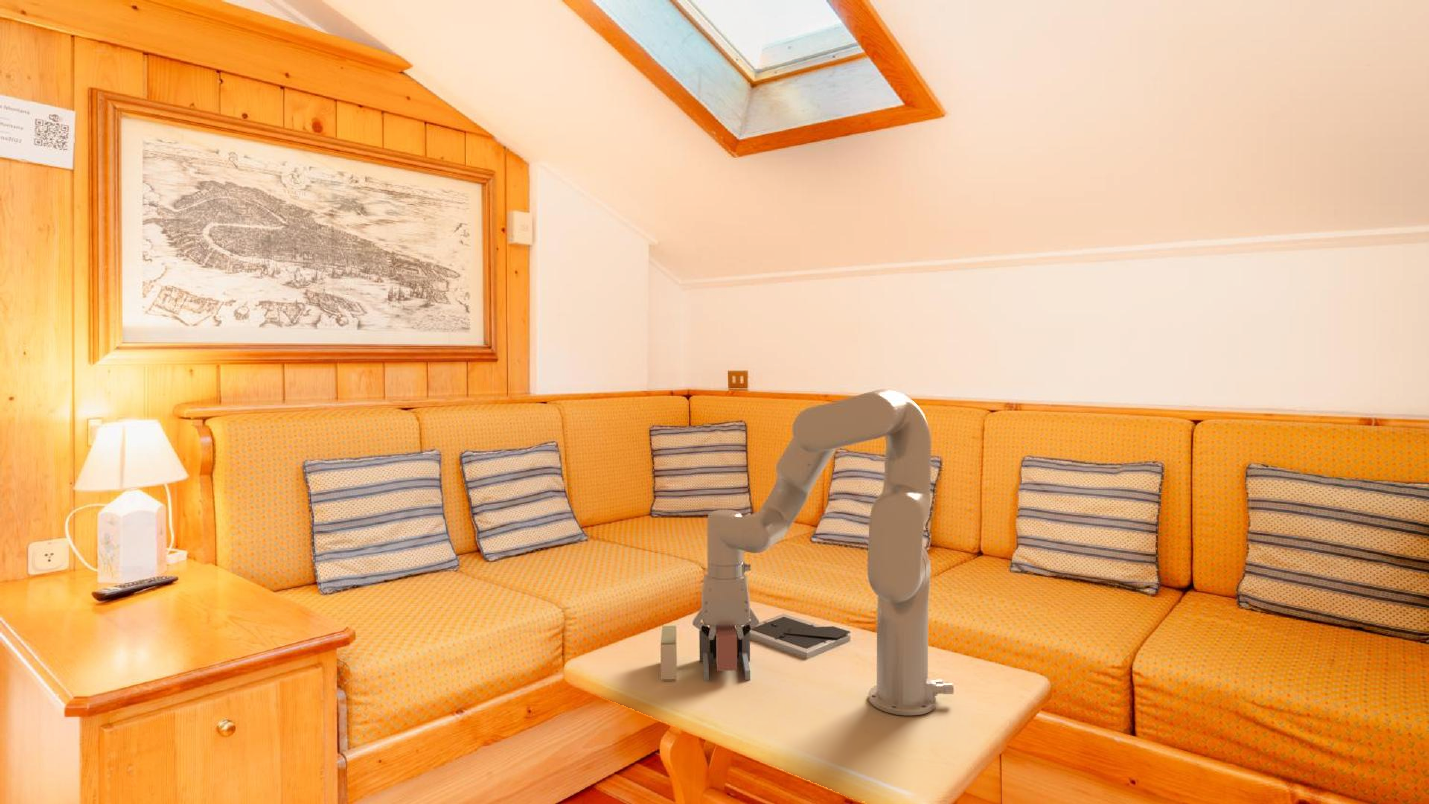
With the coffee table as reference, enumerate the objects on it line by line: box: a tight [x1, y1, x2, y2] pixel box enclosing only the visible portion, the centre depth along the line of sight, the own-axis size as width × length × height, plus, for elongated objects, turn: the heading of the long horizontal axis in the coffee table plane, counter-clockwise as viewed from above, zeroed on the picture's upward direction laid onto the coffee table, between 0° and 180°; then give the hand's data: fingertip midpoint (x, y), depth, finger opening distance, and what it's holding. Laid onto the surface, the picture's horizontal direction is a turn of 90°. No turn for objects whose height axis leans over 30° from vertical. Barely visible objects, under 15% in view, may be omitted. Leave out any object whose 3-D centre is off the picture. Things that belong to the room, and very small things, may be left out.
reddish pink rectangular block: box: [715, 625, 738, 671], centre depth 164 cm, size 4×10×7 cm, turn 2°
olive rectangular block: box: [660, 625, 678, 682], centre depth 165 cm, size 3×10×8 cm, turn 2°
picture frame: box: [750, 613, 851, 660], centre depth 184 cm, size 16×3×21 cm
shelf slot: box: [698, 629, 751, 682], centre depth 165 cm, size 11×11×7 cm
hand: (725, 655), depth 164 cm, fingers closed on reddish pink rectangular block, 4 cm apart
